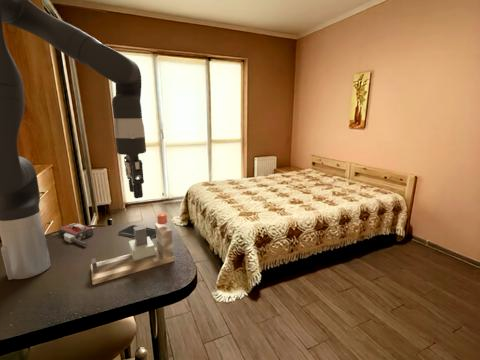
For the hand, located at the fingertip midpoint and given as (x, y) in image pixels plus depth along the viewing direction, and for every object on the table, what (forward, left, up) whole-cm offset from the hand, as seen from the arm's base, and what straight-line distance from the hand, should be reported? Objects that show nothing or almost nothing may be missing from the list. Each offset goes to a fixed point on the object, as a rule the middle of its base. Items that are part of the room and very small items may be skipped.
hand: (136, 194), depth 73 cm
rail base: (-3, 0, -22) cm, 22 cm away
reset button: (+7, 0, -10) cm, 12 cm away
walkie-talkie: (-17, +31, -22) cm, 42 cm away
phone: (+3, +22, -22) cm, 31 cm away
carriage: (0, 0, -18) cm, 18 cm away
